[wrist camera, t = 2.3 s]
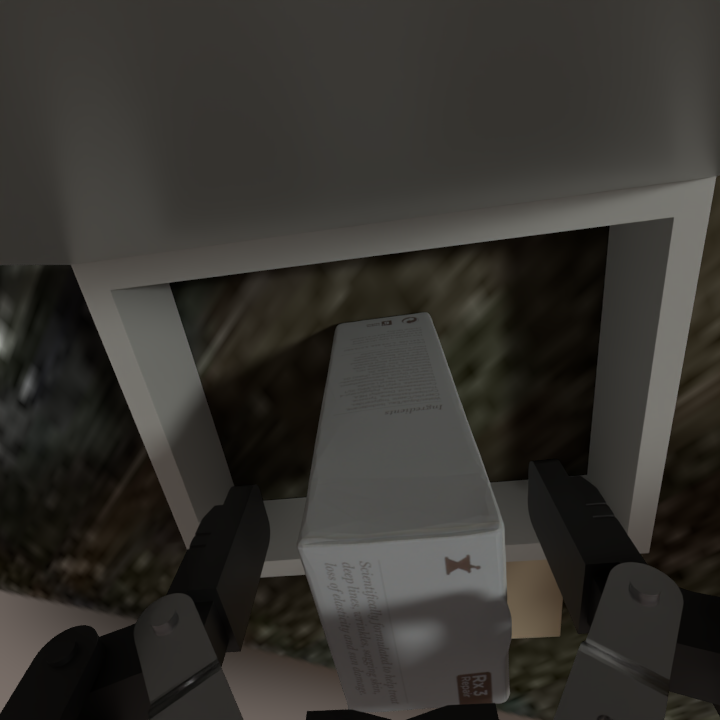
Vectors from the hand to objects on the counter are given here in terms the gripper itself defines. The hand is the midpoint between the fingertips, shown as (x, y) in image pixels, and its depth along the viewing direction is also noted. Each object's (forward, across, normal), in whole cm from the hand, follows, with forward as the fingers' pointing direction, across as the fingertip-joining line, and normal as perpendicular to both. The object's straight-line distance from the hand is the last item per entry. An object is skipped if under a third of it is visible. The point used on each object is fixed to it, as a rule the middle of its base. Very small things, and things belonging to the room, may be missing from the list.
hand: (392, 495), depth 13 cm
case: (+8, 0, 0) cm, 8 cm away
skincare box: (+8, 0, 0) cm, 8 cm away
